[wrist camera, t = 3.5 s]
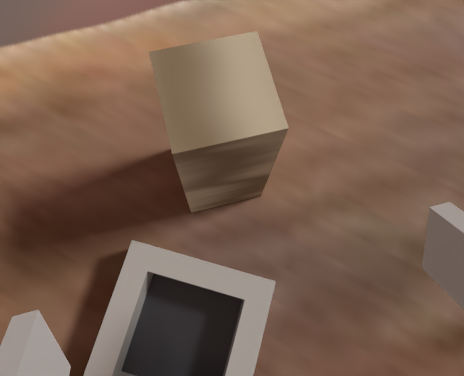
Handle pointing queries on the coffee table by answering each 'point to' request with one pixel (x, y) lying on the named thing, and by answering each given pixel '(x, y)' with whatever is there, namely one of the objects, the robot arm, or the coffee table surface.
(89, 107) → the coffee table surface
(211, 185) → the maple block
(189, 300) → the stone well
